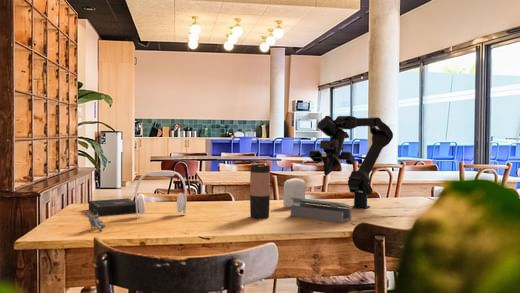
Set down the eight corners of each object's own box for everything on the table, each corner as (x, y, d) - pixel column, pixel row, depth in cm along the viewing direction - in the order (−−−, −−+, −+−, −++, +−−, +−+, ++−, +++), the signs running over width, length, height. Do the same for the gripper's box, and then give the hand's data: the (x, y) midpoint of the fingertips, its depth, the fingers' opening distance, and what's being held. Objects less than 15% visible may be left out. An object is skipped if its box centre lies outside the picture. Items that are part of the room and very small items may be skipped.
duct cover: (300, 205, 194) (301, 200, 195) (351, 211, 181) (352, 206, 182) (289, 202, 187) (290, 196, 188) (341, 208, 174) (342, 202, 175)
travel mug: (255, 219, 179) (255, 166, 179) (246, 216, 186) (246, 165, 185) (273, 218, 183) (273, 166, 182) (263, 214, 190) (264, 164, 189)
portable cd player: (141, 213, 192) (141, 203, 192) (97, 217, 183) (97, 207, 183) (129, 207, 206) (129, 198, 206) (88, 210, 197) (88, 201, 197)
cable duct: (301, 212, 195) (301, 203, 194) (351, 219, 182) (351, 209, 182) (290, 215, 188) (290, 205, 188) (341, 222, 175) (342, 212, 175)
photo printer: (300, 204, 214) (300, 177, 213) (306, 206, 210) (306, 178, 210) (281, 206, 208) (282, 178, 208) (287, 208, 205) (288, 179, 204)
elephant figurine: (117, 228, 163) (105, 224, 155) (104, 241, 163) (91, 237, 154) (100, 208, 167) (87, 203, 158) (87, 220, 166) (74, 215, 157)
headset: (185, 213, 191) (185, 169, 190) (188, 216, 184) (188, 170, 184) (134, 216, 185) (133, 170, 184) (135, 219, 178) (135, 171, 177)
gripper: (308, 131, 198) (297, 164, 191) (349, 132, 186) (339, 166, 180) (319, 145, 205) (308, 177, 199) (359, 146, 194) (349, 180, 188)
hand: (325, 175), depth 191 cm, fingers closed
